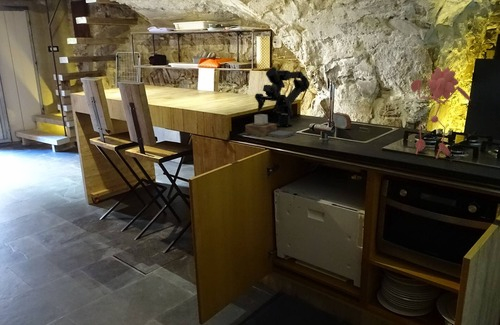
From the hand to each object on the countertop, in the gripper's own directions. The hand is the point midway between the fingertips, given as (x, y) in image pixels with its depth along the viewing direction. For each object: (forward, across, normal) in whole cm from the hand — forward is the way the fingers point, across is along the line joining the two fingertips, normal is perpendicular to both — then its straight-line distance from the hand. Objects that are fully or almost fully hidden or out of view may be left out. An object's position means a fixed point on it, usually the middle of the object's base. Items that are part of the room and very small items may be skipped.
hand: (265, 111), depth 219 cm
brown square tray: (+11, 0, +5) cm, 12 cm away
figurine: (+14, +87, +3) cm, 88 cm away
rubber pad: (+11, +12, +5) cm, 17 cm away
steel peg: (+10, 0, +3) cm, 11 cm away
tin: (-12, +31, +28) cm, 44 cm away
